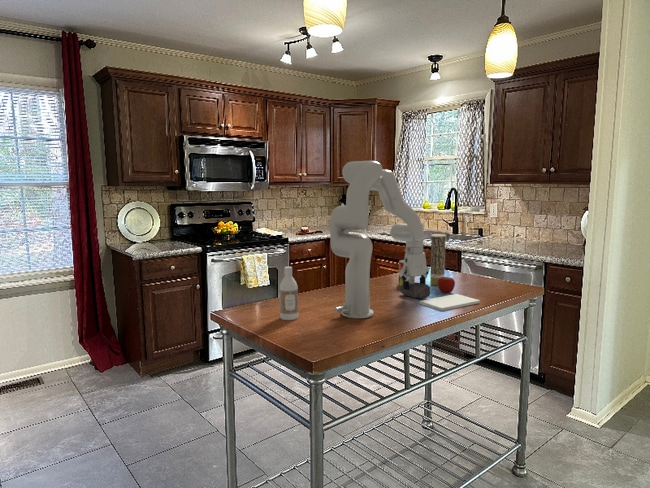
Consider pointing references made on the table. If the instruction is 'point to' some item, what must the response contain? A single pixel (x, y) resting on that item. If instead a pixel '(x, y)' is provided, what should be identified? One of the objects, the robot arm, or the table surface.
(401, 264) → the canned food
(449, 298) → the cream board
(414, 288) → the perforated stone tool
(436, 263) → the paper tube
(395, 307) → the table surface
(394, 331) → the table surface
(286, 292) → the bath foam
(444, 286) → the apple
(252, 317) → the table surface
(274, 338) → the table surface
